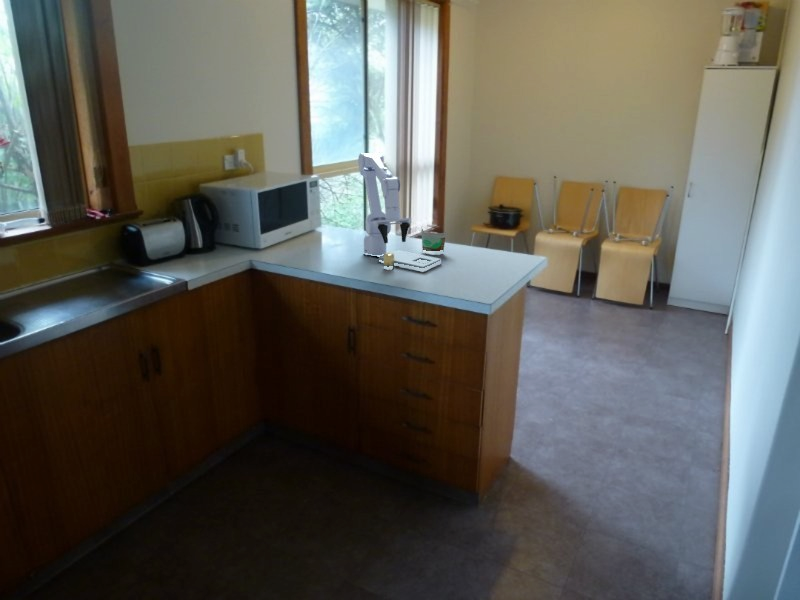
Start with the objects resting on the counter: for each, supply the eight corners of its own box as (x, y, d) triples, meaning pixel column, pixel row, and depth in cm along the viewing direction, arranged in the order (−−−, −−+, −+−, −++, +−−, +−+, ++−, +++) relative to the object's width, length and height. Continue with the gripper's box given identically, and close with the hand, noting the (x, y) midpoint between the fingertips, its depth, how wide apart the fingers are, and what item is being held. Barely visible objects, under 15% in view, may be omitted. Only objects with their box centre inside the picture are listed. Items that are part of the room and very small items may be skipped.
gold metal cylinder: (381, 269, 238) (381, 254, 236) (387, 266, 242) (387, 252, 239) (389, 270, 236) (390, 256, 234) (395, 268, 239) (396, 254, 237)
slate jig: (378, 262, 246) (378, 257, 245) (397, 255, 257) (397, 249, 256) (423, 272, 235) (423, 266, 234) (441, 264, 245) (441, 258, 245)
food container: (414, 253, 260) (415, 231, 257) (420, 250, 266) (421, 228, 262) (440, 257, 255) (441, 235, 252) (446, 254, 260) (447, 232, 257)
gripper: (371, 209, 233) (374, 244, 234) (405, 206, 227) (408, 241, 229) (378, 209, 239) (381, 243, 241) (412, 206, 234) (414, 241, 235)
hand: (394, 242), depth 235 cm, fingers open, 7 cm apart
